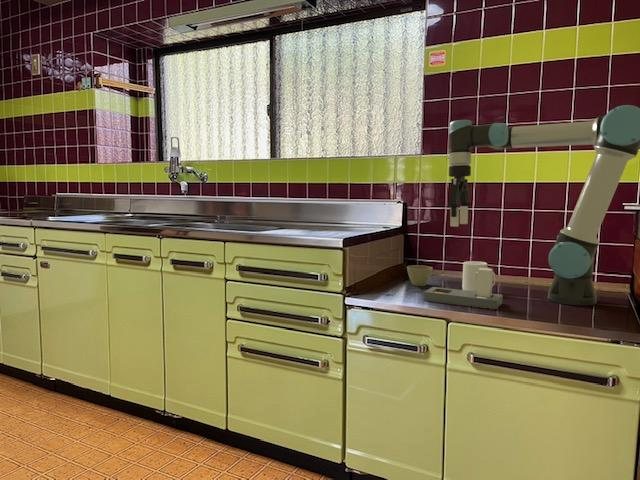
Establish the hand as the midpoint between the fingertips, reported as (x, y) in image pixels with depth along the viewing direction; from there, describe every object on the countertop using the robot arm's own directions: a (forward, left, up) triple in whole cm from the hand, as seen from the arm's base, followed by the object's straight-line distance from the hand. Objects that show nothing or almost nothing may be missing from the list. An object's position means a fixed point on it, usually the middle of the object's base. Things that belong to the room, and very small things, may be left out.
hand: (459, 225), depth 174 cm
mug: (-6, -10, -26) cm, 28 cm away
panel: (-5, +10, -25) cm, 28 cm away
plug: (-12, +10, -25) cm, 30 cm away
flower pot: (+17, -10, -26) cm, 32 cm away
